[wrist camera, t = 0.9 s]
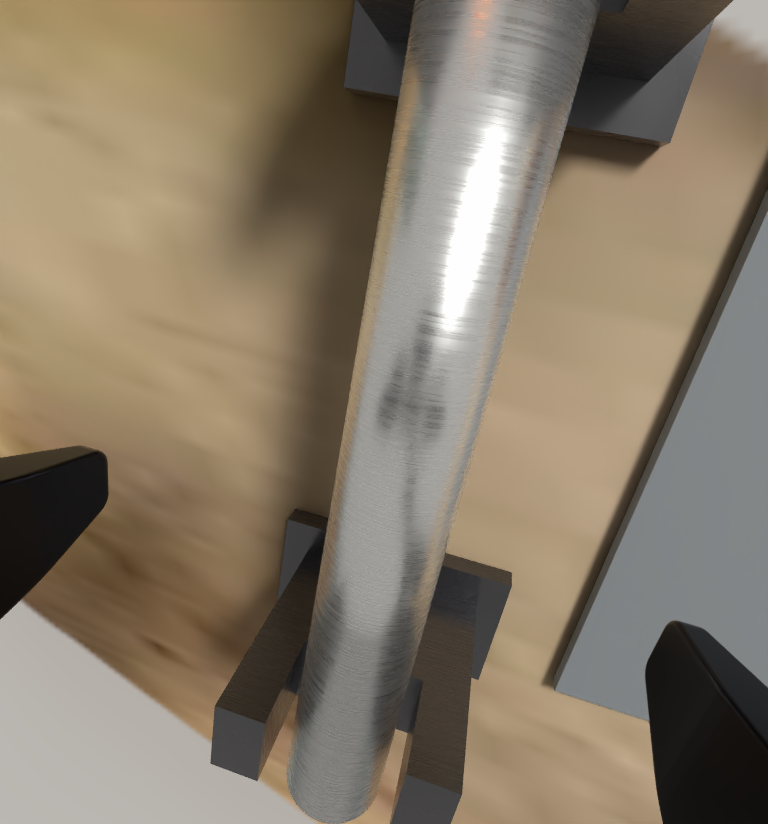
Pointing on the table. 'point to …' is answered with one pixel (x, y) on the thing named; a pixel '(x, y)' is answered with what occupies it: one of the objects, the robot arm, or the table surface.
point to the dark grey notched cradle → (459, 578)
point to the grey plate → (692, 512)
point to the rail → (427, 360)
